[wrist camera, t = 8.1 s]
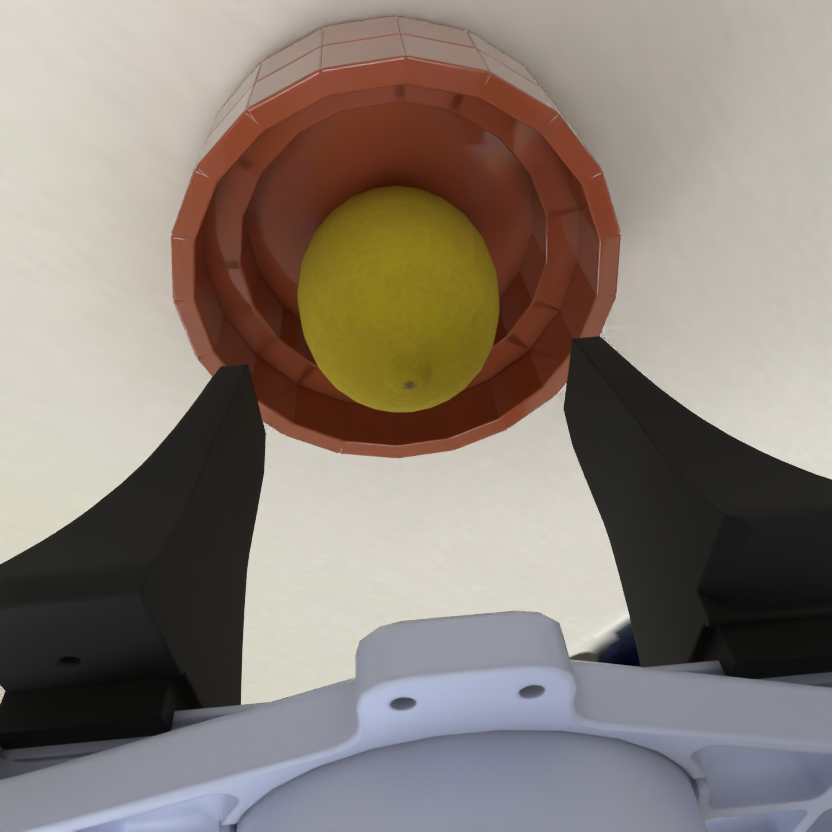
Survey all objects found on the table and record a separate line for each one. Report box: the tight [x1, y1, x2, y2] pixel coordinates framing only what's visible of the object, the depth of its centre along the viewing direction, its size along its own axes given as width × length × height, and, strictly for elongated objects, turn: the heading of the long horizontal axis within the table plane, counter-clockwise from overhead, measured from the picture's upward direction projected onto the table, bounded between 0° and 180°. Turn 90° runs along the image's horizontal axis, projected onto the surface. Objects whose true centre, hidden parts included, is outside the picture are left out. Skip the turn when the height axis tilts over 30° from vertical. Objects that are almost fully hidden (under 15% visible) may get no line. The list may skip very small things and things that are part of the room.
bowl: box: [171, 16, 621, 458], centre depth 21 cm, size 12×12×5 cm
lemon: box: [298, 186, 500, 412], centre depth 20 cm, size 6×6×8 cm
